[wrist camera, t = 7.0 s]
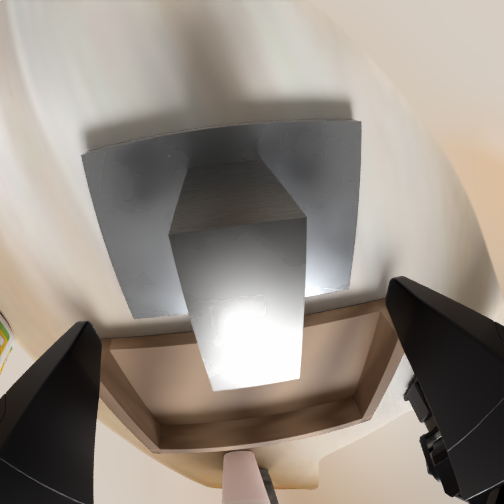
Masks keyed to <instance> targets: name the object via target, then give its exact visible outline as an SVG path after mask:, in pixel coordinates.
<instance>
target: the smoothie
mask: <svg viewBox="0 0 504 504" xmlns="http://www.w3.org/2000/svg"><path fill="white" fill-rule="evenodd" d="M222 504H271V503H270V500H269V498H268V495H267V492H266V489H265V486H264V483H263V480H262V477H261V474H260V471H259V468H258V465H257V462H256V459H255V455H254V453H253V452H251V451H233V452H229V453H226V454H225V455H224V462H223V490H222Z"/></svg>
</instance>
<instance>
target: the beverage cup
mask: <svg viewBox="0 0 504 504" xmlns="http://www.w3.org/2000/svg"><path fill="white" fill-rule="evenodd" d="M259 471H260V474H261V477H262V480H263V483H264V486H265V489H266V492H267V495H268V498H269V500H270V503H271V504H278V500H277V497H276V494H275V491H274V487H273V484H272V481H271V478H270V476H269V473H268V470H267V469H259Z"/></svg>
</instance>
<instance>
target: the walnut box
mask: <svg viewBox="0 0 504 504" xmlns="http://www.w3.org/2000/svg"><path fill="white" fill-rule="evenodd" d="M100 340H101V343H102V355H101V373H100V393H99V397H100V398H101V399H102V401H103V402H104V403H105V404H106V405H107V406H108V408H109V409H110V410H111V411H112V412H113V413H114V414H115V415H116V417H117V418H118V419H119V420H120V421H121V422H122V423H123V424H124V425H125V426H126V427H127V428H128V429H129V430H130V431H131V432H132V433H133V434H134V435H135V436H136V437H137V438H138V439H139V440H140V441H141V442H142V443H143V444H144V445H145V446H146V447H147V448H148V449H149V450H150V451H151V452H152V453H201V452H217V451H228V450H238V449H246V448H254V447H261V446H267V445H273V444H279V443H284V442H289V441H294V440H299V439H304V438H308V437H313V436H317V435H321V434H325V433H328V432H332V431H336V430H339V429H343V428H346V427H350V426H353V425H356V424H359V423H362V422H365V421H368V420H370V419H371V417H372V416H373V414H374V412H375V410H376V409H377V407H378V405H379V403H380V401H381V399H382V397H383V396H384V394H385V392H386V390H387V388H388V386H389V384H390V382H391V380H392V378H393V376H394V374H395V371H396V369H397V367H398V365H399V363H400V361H401V358H402V356H403V354H404V350H403V348H402V346H401V343H400V341H399V338H398V336H397V333H396V330H395V328H394V325H393V323H392V320H391V318H390V315H389V313H388V310H387V308H386V304H385V299H381V300H376V301H372V302H368V303H363V304H359V305H354V306H349V307H345V308H340V309H335V310H330V311H325V312H320V313H315V314H309V315H304V322H303V338H302V352H301V365H300V377H299V379H294V380H288V381H283V382H277V383H272V384H266V385H259V386H253V387H246V388H238V389H230V390H222V391H213V389H212V386H211V383H210V380H209V377H208V374H207V371H206V368H205V365H204V362H203V359H202V356H201V353H200V350H199V347H198V343H197V340H196V337H195V334H194V332H186V333H176V334H165V335H154V336H141V337H127V338H110V339H100Z"/></svg>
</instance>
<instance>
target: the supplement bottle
mask: <svg viewBox="0 0 504 504" xmlns="http://www.w3.org/2000/svg"><path fill="white" fill-rule="evenodd" d="M13 345H14V337H13V334H12V331H11V329H10V327H9V325H8V324H7V322H6V321H5V319H4V318H3V317H2V316H1V314H0V373H1V371H2V369H3V367H4V365H5V363H6V361H7V358H8V356H9V354H10V352H11V350H12V348H13Z"/></svg>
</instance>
